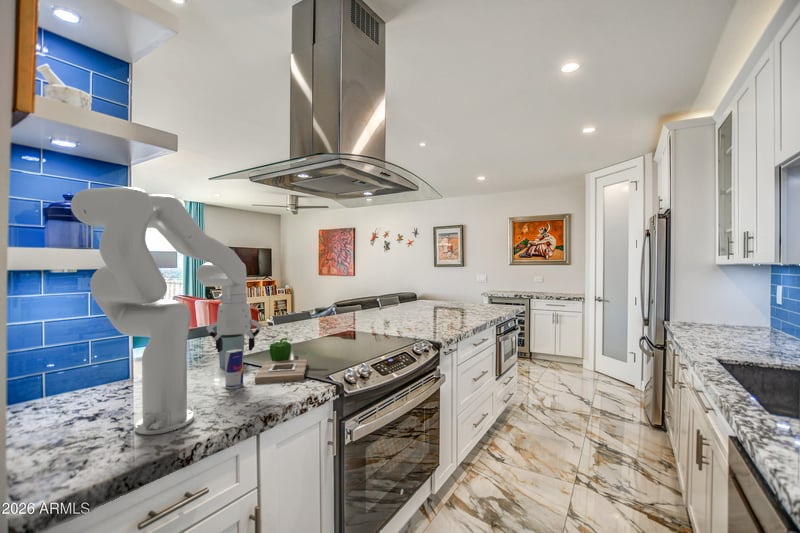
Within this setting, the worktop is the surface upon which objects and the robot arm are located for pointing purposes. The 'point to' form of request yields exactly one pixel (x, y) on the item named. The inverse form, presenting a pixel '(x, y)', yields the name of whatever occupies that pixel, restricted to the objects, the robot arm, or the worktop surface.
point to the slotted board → (281, 371)
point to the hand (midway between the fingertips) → (235, 350)
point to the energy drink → (234, 368)
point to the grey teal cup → (230, 345)
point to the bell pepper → (280, 350)
